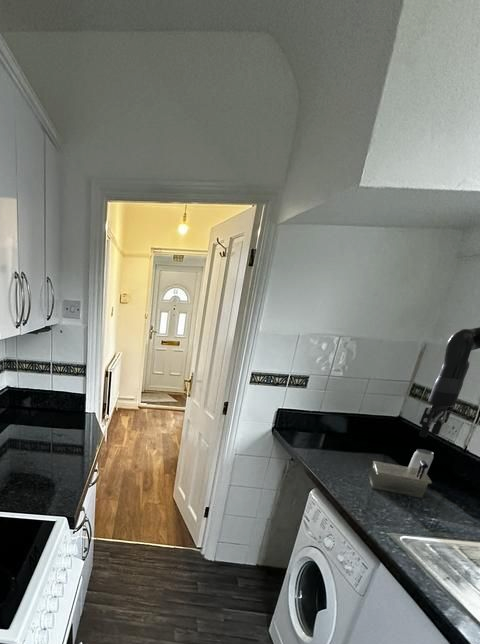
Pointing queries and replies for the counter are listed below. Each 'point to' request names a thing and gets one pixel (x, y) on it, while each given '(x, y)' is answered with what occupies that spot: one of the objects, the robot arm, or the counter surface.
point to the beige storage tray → (396, 484)
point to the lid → (403, 471)
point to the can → (421, 458)
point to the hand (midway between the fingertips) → (428, 435)
